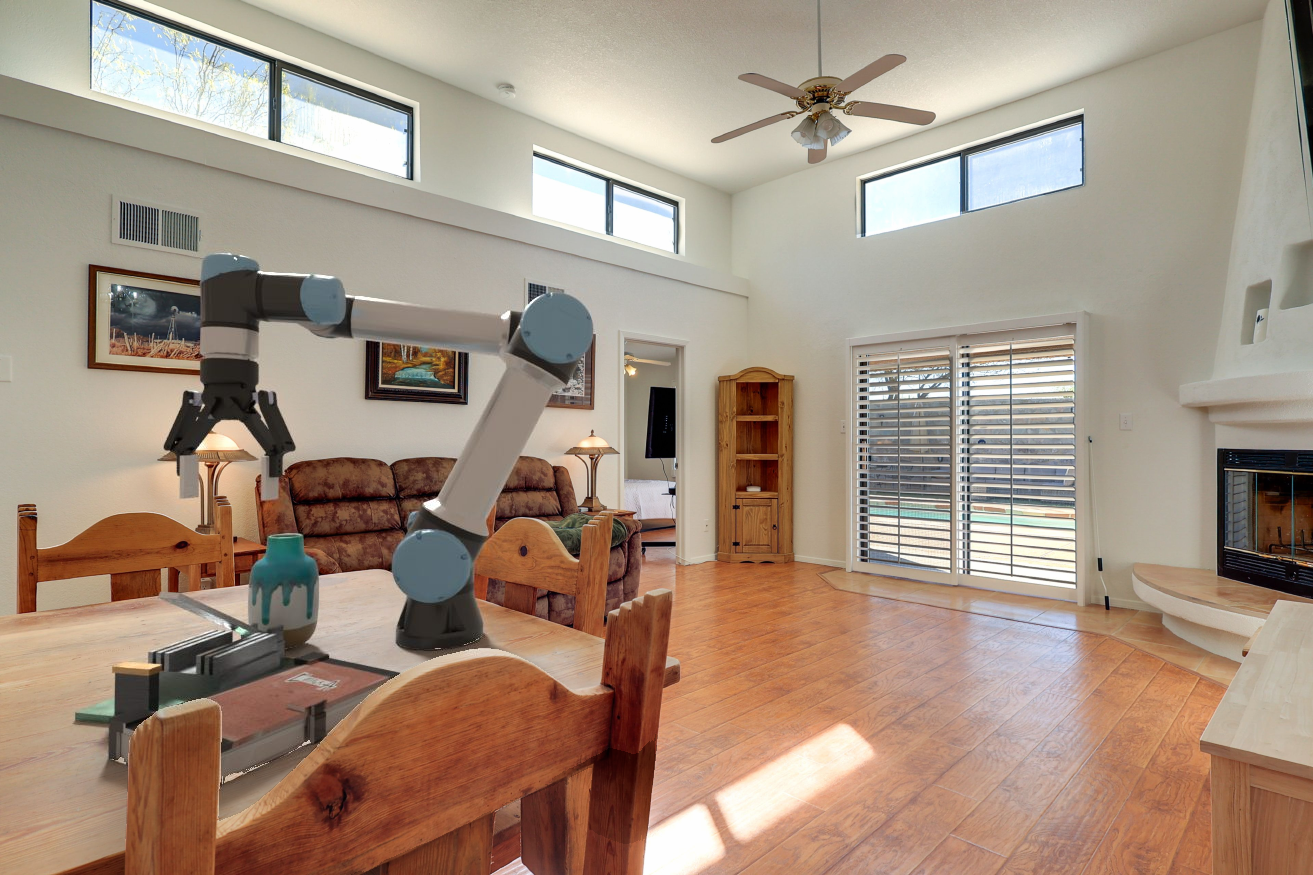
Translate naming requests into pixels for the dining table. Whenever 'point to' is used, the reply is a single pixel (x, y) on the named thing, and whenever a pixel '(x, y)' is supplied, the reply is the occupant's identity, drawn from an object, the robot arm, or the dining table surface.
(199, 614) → the strap
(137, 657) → the dining table surface
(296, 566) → the vase
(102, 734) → the dining table surface
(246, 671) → the heatsink
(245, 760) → the brown labeled slab
